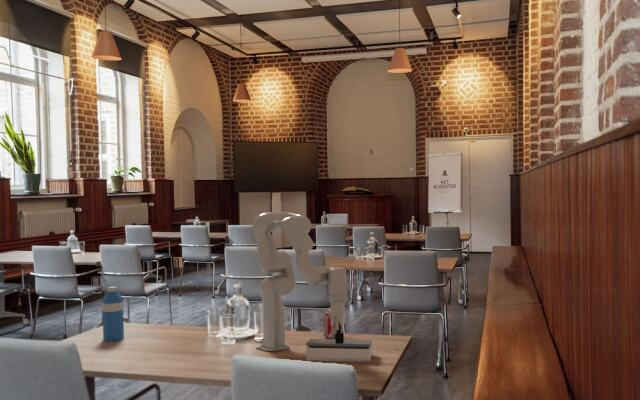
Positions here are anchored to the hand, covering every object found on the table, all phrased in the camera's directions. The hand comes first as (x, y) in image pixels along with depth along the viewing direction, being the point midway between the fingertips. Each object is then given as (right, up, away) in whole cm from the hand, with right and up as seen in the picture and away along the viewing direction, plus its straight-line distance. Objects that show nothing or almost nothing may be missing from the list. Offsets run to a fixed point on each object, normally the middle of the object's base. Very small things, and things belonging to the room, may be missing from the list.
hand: (339, 342), depth 256 cm
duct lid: (0, -1, +3) cm, 4 cm away
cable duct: (0, -7, +4) cm, 8 cm away
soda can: (-3, -7, +40) cm, 40 cm away
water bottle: (-107, -9, +46) cm, 117 cm away
